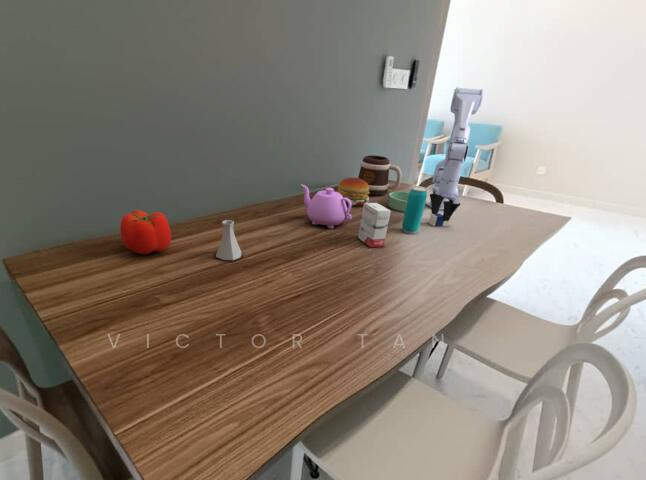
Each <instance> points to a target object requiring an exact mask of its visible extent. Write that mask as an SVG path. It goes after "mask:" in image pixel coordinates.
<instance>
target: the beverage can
mask: <svg viewBox="0 0 646 480" xmlns="http://www.w3.org/2000/svg"><path fill="white" fill-rule="evenodd" d="M408 192H409V196H408V201H407V206H406V210H405V212H404V214H403V220H402V225H401V226H402V231H403V232H404V233H405V234H410V235H415V234H417V232H418V231H419V229H420V227H421V222H422V218H423V214H424V209H425V206H426V203H427V202H426V201H427V197H428V189H427V188H426V187H423V186H417V185H416V186H411V188H410V190H409V191H408Z"/></svg>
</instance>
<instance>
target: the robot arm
mask: <svg viewBox="0 0 646 480" xmlns="http://www.w3.org/2000/svg"><path fill="white" fill-rule="evenodd" d="M484 94H485V91H484V89H482V88H480V89H479V88H463V87H458V86H457V87H456V88H455V89H454V91H453V95H452V99H451V104H450V112H451V113H452V114H454V122H453V125H452V129H451V133H450V138H449V142H448V145H447V149H446V152H445V158H444V159H442V160H440V161H438V162H437V164H435V168H434V172H433V175H432V181H431V182H432V183H433V184H434V186H432V189H431V190H432V191H431V192H432V193H429V198H430V202H425V206H428V207H430V208H431V210H430V213H431V214H439V211H443V213H442V214H443V221H449V219H450V220H451V217H452V216H453V214H454V212H455V211H456V210H457V209H458V208H459V207H460V206H461V197H459V189H458V184H459V182H460V178H461V174H462V171H463V166H464V163H465V161H466V160H467V157H468V154H469V150H470V141H469V140H470V135H471V127H470V126H469V123H470V119H471V116H472V115H476V114H477V112H478V111H479V109H480V107H481V106H482V103H483V99H484ZM449 222H450V221H449Z"/></svg>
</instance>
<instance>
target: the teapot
mask: <svg viewBox="0 0 646 480" xmlns="http://www.w3.org/2000/svg"><path fill="white" fill-rule="evenodd" d="M300 186H301V187H302V189H303V192H304V194H303V195H304V198H303V205H304V206H305V208H306V215H307V217H308V219H309V220H310V221H311V224H312V225H322V226H326V227H327V228H328V229H334V228H335V227H334V226H337V225H341V224H342V223H343V222H345V221H351V220H352V218H353V216H352V214H351V213H350V211H351V209H352V207H353V205H352V203H351V201H350V199H348V198H343V197H342V195H341V194H340V193H338V191H335V189H334V188H332V187H325V190H319V191H317V192H316V193H315V195H314V196H313V197H312V198H311V197H310V190H309V188H308V186H307V185H305V184H303V183H301V184H300ZM344 200H345V201H347V202H348V206H347V205H346V203H345V201H344Z"/></svg>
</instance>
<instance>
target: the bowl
mask: <svg viewBox="0 0 646 480" xmlns="http://www.w3.org/2000/svg"><path fill="white" fill-rule="evenodd" d="M409 192H410V191H393V192H390V193H389V194H388V197H387V198H388V199H387V206H388V207H389V208H390V209H392V210H394V211H397V212H402V213H405V210H406V206H407V201H408V196H409Z"/></svg>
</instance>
